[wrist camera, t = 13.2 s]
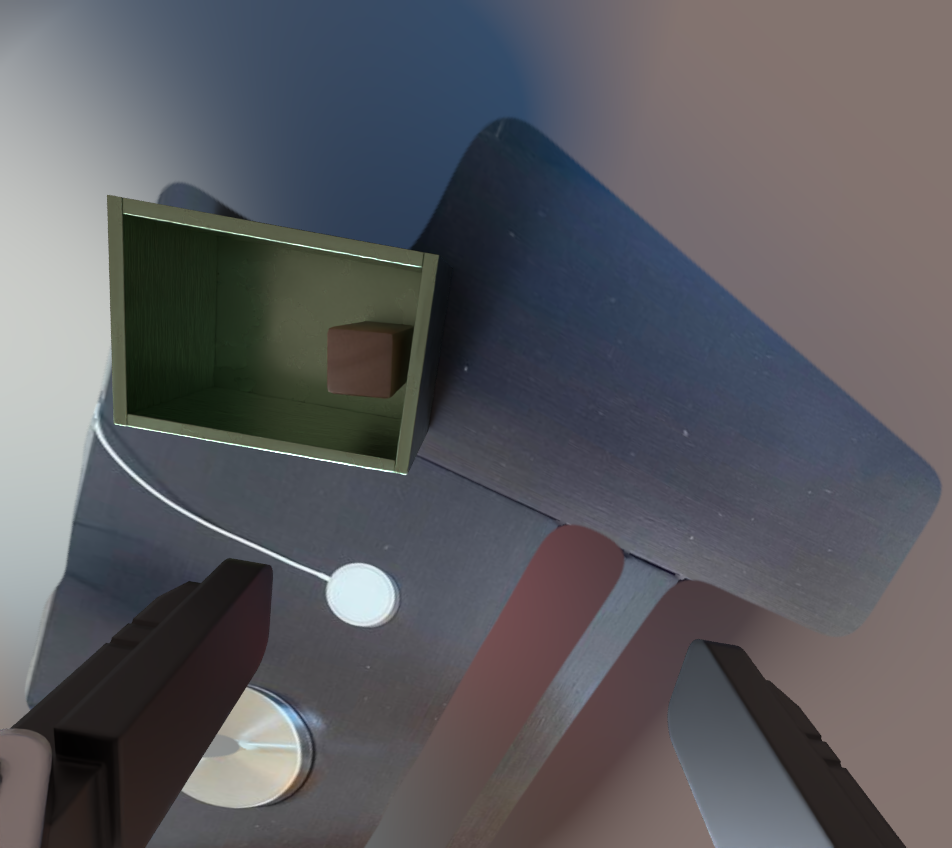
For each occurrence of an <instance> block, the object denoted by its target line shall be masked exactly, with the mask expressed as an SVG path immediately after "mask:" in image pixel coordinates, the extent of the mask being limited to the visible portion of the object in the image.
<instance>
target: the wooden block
mask: <svg viewBox="0 0 952 848" xmlns="http://www.w3.org/2000/svg"><path fill="white" fill-rule="evenodd" d="M413 332H414V328H413V327H412V326H410V325H404V324H392V323H381V322H370V321H364V322H358V323H352V324H346V325H340V326H334V327H331V328H329V330H328V332H327V388H328V391H329V392H331V393H333V394H340V395H352V396H363V397H374V398H385V399H387V398H390V397H392V396H393V395H394V394H395V393H396V392H397V391H398V390H399V389H400V388H401V387H402V386H403V385H404V384H405V383H406V382H407V376H408V369H409V361H410V354H411V347H412V340H413Z"/></svg>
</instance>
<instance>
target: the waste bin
mask: <svg viewBox="0 0 952 848" xmlns="http://www.w3.org/2000/svg"><path fill="white" fill-rule="evenodd" d="M107 209H108V243H109V274H110V275H109V277H110V311H111V346H112V380H113V415H114V424H117V425H123V426H129V427H135V428H141V429H147V430H152V431H158V432H164V433H170V434H175V435H181V436H187V437H193V438H198V439H204V440H210V441H216V442H221V443H227V444H233V445H239V446H244V447H250V448H256V449H262V450H267V451H273V452H279V453H285V454H290V455H296V456H302V457H307V458H313V459H319V460H325V461H330V462H336V463H342V464H348V465H353V466H359V467H365V468H371V469H376V470H382V471H388V472H395V473H399V474H404V475H407V474H408V472H409V470H410V468H411V466H412V464H413V462H414V460H415V457H416V455H417V453H418V451H419V449H420V447H421V445H422V443H423V441H424V438H425V436H426V434H427V432H428V428H429V421H430V415H431V408H432V402H433V395H434V389H435V382H436V376H437V369H438V363H439V356H440V350H441V343H442V337H443V330H444V324H445V317H446V311H447V304H448V298H449V291H450V285H451V278H452V272H453V267H451V266H450V265H449V264H448V263H447V262H446V261H445V260H444V259H442V258H441V257H440V256H439V255H436V254H430V253H424V252H419V251H414V250H408V249H403V248H397V247H392V246H386V245H381V244H375V243H370V242H364V241H358V240H353V239H347V238H342V237H337V236H331V235H325V234H320V233H315V232H309V231H304V230H298V229H293V228H287V227H282V226H276V225H271V224H265V223H260V222H254V221H249V220H243V219H238V218H233V217H227V216H222V215H216V214H211V213H205V212H200V211H194V210H189V209H183V208H178V207H172V206H167V205H161V204H156V203H150V202H144V201H139V200H134V199H128V198H122V197H117V196H112V195H107ZM364 321H370V322H381V323H392V324H404V325H410V326H412V327H413V328H414V332H413V340H412V347H411V354H410V361H409V369H408V376H407V382H406V383H405V384H404V385H403V386H402V387H401V388H400V389H399V390H398V391H397V392H396V393H395V394H394V395H393V396H392V397H390V398H387V399H385V398H374V397H363V396H352V395H340V394H333V393H331V392H329V391H328V388H327V332H328V330H329V328H331V327H334V326H340V325H346V324H352V323H358V322H364Z"/></svg>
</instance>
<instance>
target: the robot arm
mask: <svg viewBox="0 0 952 848" xmlns="http://www.w3.org/2000/svg"><path fill="white" fill-rule="evenodd" d="M272 582H273V570H272V567H271V566H270V565H267V564H261V563H255V562H249V561H243V560H237V559H231V558H229V559H226V560H225V561H223V562H222V563H221V564H220V565H219V566H218V567H217V568H216V569H215V570H214V571H213V572H212V573H211V574H210V575H209V576H208V577H207V578H206V579H205V580H204V581H203V582H202V583H197V582H191V581H189V582H187V583H185V584H183V585H181V586H179V587H177V588H175V589H173V590H171V591H169V592H167V593H165V594H163V595H161V596H159V597H157V598H156V599H155V600H154V601H153V602H152V603H150V604H149V605H148V606H147V607H146V608H145V609H144V610H143V611H142V612H140V613H139V614H138V615H137V616H136V617H135V618H134V619H133V622H132V623H131V624H129V623H128V624H127V625H126V626H125V627H124V628H122V629H121V630H120V631H119V632H118V633H117V634H116V635H115V636H113V637H112V640H111V642H110V643H106V644H104V645H103V646H102V647H101V648H100V649H99V650H98V651H97V652H96V653H94V654H93V655H92V656H91V657H90V658H89V659H88V660H87V661H85V662H84V663H83V664H82V665H81V666H80V667H79V668H78V669H76V670H75V671H74V672H73V673H72V674H71V675H70V676H69V677H67V678H66V679H65V680H64V681H63V682H62V683H61V684H60V685H59V686H57V687H56V688H55V689H54V690H53V691H52V692H51V693H50V694H48V695H47V696H46V697H45V698H44V699H43V700H42V701H41V702H39V703H38V704H37V705H36V706H35V707H34V708H33V709H32V710H30V711H29V712H28V713H27V714H26V715H25V716H24V717H23V718H21V719H20V720H19V721H18V722H17V723H16V724H15V725H13V726H12V727H11V728H10V729H2V730H0V848H145V847H146V845H147V844H148V842H149V841H150V839H151V837H152V836H153V834H154V833H155V831H156V829H157V828H158V826H159V825H160V823H161V822H162V820H163V818H164V817H165V815H166V814H167V812H168V810H169V809H170V807H171V806H172V804H173V803H174V801H175V799H176V798H177V796H178V795H179V793H180V791H181V790H182V788H183V787H184V785H185V784H186V782H187V780H188V779H189V777H190V776H191V774H192V772H193V771H194V769H195V768H196V766H197V764H198V763H199V761H200V760H201V758H202V757H203V755H204V753H205V752H206V750H207V749H208V747H209V745H210V744H211V742H212V741H213V739H214V738H215V736H216V734H217V733H218V731H219V730H220V728H221V726H222V725H223V723H224V722H225V720H226V719H227V717H228V715H229V714H230V712H231V711H232V709H233V707H234V706H235V704H236V703H237V701H238V700H239V698H240V696H241V695H242V693H243V692H244V690H245V688H246V687H247V685H248V684H249V682H250V680H251V679H252V677H253V676H254V674H255V673H256V671H257V669H258V667H259V665H260V663H261V661H262V658H263V655H264V652H265V649H266V646H267V642H268V637H269V625H270V611H271V596H272ZM668 728H669V735H670V738H671V741H672V744H673V747H674V749H675V752H676V754H677V756H678V759H679V761H680V764H681V766H682V769H683V771H684V773H685V776H686V778H687V781H688V783H689V786H690V788H691V791H692V793H693V795H694V798H695V800H696V803H697V805H698V807H699V810H700V812H701V815H702V817H703V820H704V822H705V824H706V827H707V829H708V832H709V834H710V837H711V839H712V842H713V844H714V846H715V848H906V846H905V845H904V844H903V843H902V841H901V840H900V839H899V837H898V836H897V835H896V833H895V832H894V831H893V829H892V828H891V827H890V825H889V824H888V823H887V822H886V820H885V819H884V818H883V816H882V815H881V814H880V812H879V811H878V810H877V808H876V807H875V806H874V804H873V803H872V802H871V800H870V799H869V798H868V796H867V795H866V794H865V793H864V791H863V790H862V789H861V787H860V786H859V785H858V783H857V782H856V781H855V780H854V778H853V777H852V776H851V774H850V773H849V772H848V770H847V769H846V768H842V767H841V764H840V762H841V761H840V760H839V759H838V757H837V756H836V754H835V753H834V752H833V751H832V749H831V748H830V747H829V745H828V744H827V743H826V742H823V741H822V740H821V735H820V734H819V732H818V731H817V730H816V728H815V727H814V726H813V724H812V723H811V722H810V720H809V719H808V718H807V716H806V715H805V714H804V713H803V711H802V710H801V708H800V707H799V706H798V705H797V704H795V703H794V702H793V701H792V700H791V699H790V698H789V697H787V696H786V695H785V694H784V693H783V692H782V691H781V690H779V689H778V688H777V687H776V686H775V685H774V684H773V683H771V682H770V681H768V680H765V678H764V677H763V676H762V674H761V673H760V672H759V670H758V669H757V667H756V666H755V665H754V663H753V662H752V660H751V659H750V658H749V656H748V655H747V654H746V652H745V651H744V650H743V649H742V648H741V647H739V646H735V645H730V644H724V643H718V642H712V641H706V640H700V639H696V640H694V641H693V642H692V643H691V644H690V646H689V648H688V651H687V653H686V656H685V659H684V662H683V665H682V668H681V671H680V673H679V676H678V679H677V682H676V685H675V688H674V691H673V694H672V696H671V699H670V702H669V707H668Z"/></svg>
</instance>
